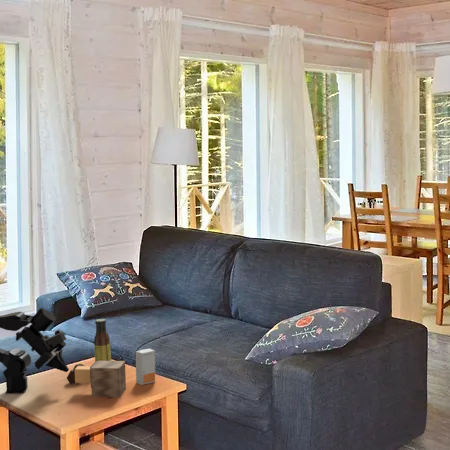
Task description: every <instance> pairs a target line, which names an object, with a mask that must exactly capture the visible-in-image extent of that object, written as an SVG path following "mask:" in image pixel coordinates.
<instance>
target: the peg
mask: <svg viewBox="0 0 450 450" xmlns="http://www.w3.org/2000/svg"><path fill="white" fill-rule="evenodd" d="M91 366H92V365H84V366H77V367H76V368H75V383H79V384H91V378H90V367H91Z"/></svg>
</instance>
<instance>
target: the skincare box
mask: <svg viewBox="0 0 450 450" xmlns="http://www.w3.org/2000/svg"><path fill="white" fill-rule="evenodd" d="M135 382H136V383H137V384H139V385H141V386H143V385H147V384H152V383H156V350H154V349H152V348H145V349H140V350H137V351H135Z"/></svg>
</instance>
